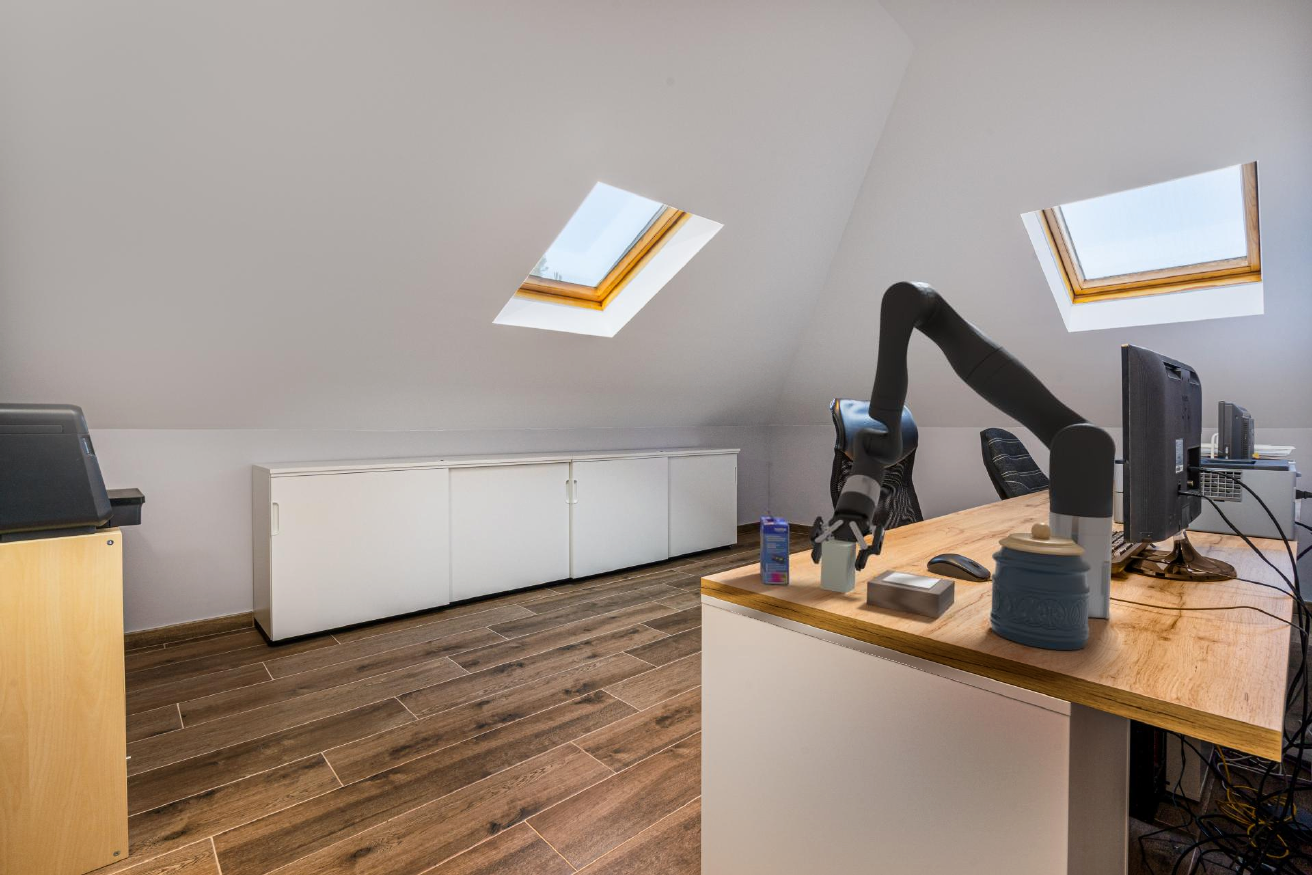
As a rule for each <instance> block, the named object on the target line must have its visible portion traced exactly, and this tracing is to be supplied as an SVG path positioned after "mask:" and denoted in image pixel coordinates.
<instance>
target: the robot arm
mask: <svg viewBox="0 0 1312 875" xmlns="http://www.w3.org/2000/svg"><path fill="white" fill-rule="evenodd" d="M880 302H881V304H880V312H879V313H880V314H879V337H878V352H877V353H878V354H877V362H876V369H875V377H874V381H873V386H872V391H871V396H870V400H869V405H868V412H867V413H868V416H869V417H870V419H872V420H874V421H876V422H877V423H880V424H882V425H883V426H885V427H886V429H887V431H885V430H879V429H876V428H871V427H862V428H861V429H859V430H858V431H857V432H856V433H855V434H854V437H853V443H852V445H853V446H852V448H853V449H852V450H853V461H852V466H851V469H850V472H849V475H848V477H847V480H846V482H845V484H844V485H843V487H842V489H841V493H840V496H839V498H838V501H837V504H836V506H835V509H834V510H833V511H834V512H833V515H832V517H831V518H830V519H829V520H827V519H823V517H822V516H817V517H815V519H814V523H813V524H812V526H811V528H810V531H809V533H808V534H807V539H808V541H809V544H810V546H812V547H813V548H812V550H811V553H810V557H811V560H812V562H813V563H814V564H815V565H819V564H820V561H821V558H822V543H823V542H826V541H829V540H839V541H846V542H853V543H856V544H857V545H858V547H859V548H860V549H859V550H858V553H857V554H856V562H855V572H856V571H857V572H861V571H862V570H864V569H865V568H866V566H867V562H868V560H869V557H870V556H871V555H875V556H880V555H881V552H882V549H883V544H884V540H885V534H886V531H885V529H884V526H883V523H877V524H876V525H871V524H872V521H873V518H874V515H875V512H876V509H877V507H878V505H879V500H880V493H881V490H882V486H883V484H884V481H885V477H886V474H887V473H886V468H885V466H884V465H883V464H886V465H894V464H896V463H897V462H898V461H899V460H900V459H901V457H902V454H903V450H904V449H903V447H904V446H903V445H904V444H903V434H902V418H903V417H902V416H903V413H904V412H903V411H904V408H905V402H906V399H907V394H908V389H909V388H908V386H909V370H908V349H909V343H910V340H911V335H912V334H913V330H914V329H915V330H918V331H919V332H920V333H922V334H923V335H924V336H925V337H927V338H928V339H929V340H931V341H932V342H933V343H934V344H936V346H937V347H939V349H940V350H941V351H942V353H943V355H944V356H945V358H946V359H947V362H948V363H949V365H950V366H951V368H952V370H953V371H954V373H955V374H956V375H957V377H959V379H960V380H962V381H963V382H964V384H966V385H967V386H968V387H969V388H970V389H972V390H973V391H974V392H975V393H976V394H977V395H979V396H980V397H981V398H982V399H984V400H985V401H986V402H988V403H989V404H990V405H991V406H993V407H995V408H996V409H997V410H999V411H1000V412H1002V413H1004V414H1005V415H1007V416H1008V417H1010V418H1011V419H1014V420H1015V421H1016V422H1019V423H1020V424H1021V425H1022V426H1024V427H1025V428H1027V429H1028V430H1029V431H1030V433H1032V434H1033V435H1034V436H1035V437H1036V438H1037V439H1038V440H1039V441H1040V442H1041V443H1042V444H1043V445H1044V446H1045V447H1046V448H1047V449H1048V451H1049V459H1048V460H1049V463H1048V465H1049V466H1048V498H1049V511H1048V514H1049V515H1048V519H1049V520H1048V526H1049V527H1050V529H1051V535H1052V536H1058V537H1064V538H1068V539H1071V540H1073V541H1074V542H1075V543H1076V544H1077V545H1079V546H1080V547H1082V548H1084V549H1085V553H1084V554H1081V556H1082V558H1083V560H1084V561H1086V562H1087V563H1089V564H1090V565H1091V567H1092V569H1091V570H1090V571H1089V572H1088V573H1087V585H1088V586H1089V587H1090V588H1091V592H1090V593H1089V613H1088V618H1101V619H1110V606H1111V605H1110V602H1111V579H1112V578H1111V576H1112V574H1111V573H1112V544H1113V543H1112V542H1113V540H1112V539H1113V520H1114V519H1113V515H1114V499H1115V498H1114V497H1115V496H1114V486H1115V482H1114V481H1115V463H1116V462H1115V458H1116V451H1117V449H1116V443H1115V441H1114V438H1113V437H1112V436H1111V434H1110V433H1109V432H1107V430H1105V429H1104V428H1102V427H1100V426H1098V425H1096V424H1094V423H1093V422H1091V421H1089V420H1088V419H1086V418H1085V417H1084V416H1082V415H1081V414H1079V413H1078V412H1076V411H1074V410H1073V409H1072V408H1070V407H1069V406H1067V405H1066V404H1065V403H1064V402H1062V401H1061V400H1059V398H1058V397H1056V396H1055V394H1053V393H1052V392H1051V391H1050V389H1049V388H1047V386H1045V385H1044V383H1043V382H1042V381H1041V380H1040V379H1039V378H1038V377H1037V376H1036V375H1035V374H1034V373H1033V371H1031V370H1030V369H1028V367H1027V366H1026V365H1025V364H1024V363H1022V362H1021V361H1020V360H1019V359H1018V358H1017V357H1015V355H1013V354H1012V353H1010V352H1009V351H1008V350H1007V349H1005V348H1004V347H1003V345H1000V343H999V342H997V341H996V340H993V338H991V337H990V336H989V335H987V334H986V332H984V331H982V330H981V329H979V328H978V327H977V326H975V325H974V324H972V323H971V322H969V321H968V320H966V319H965V318H964V317H963V316H962V315H961V314H960V313H959V312H958V311H957V310H956V309H955V308H954V307H953V306H952V305H951V304H950V303H949V302H948V301H947V299H945V298H944V297H943V295H942V294H941V293H940V292H938V290H936V289H935V288H934V287H933V286H931V284H929V283H926V282H924V281H916V280H915V281H914V280H913V281H912V280H908V281H906V280H905V281H898V282H895V283H893V284H891V285H890V286H889V287H888V288H887V289H886V290H885V292H884V294H883V296H882V298H881V301H880ZM826 528H827V529H826ZM870 533H872V536H873V538H872V541H871V544H869V545H868V544H867V542H866V540H865V537H867V536H868V535H870ZM831 535H832V536H831Z"/></svg>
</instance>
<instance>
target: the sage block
mask: <svg viewBox="0 0 1312 875" xmlns="http://www.w3.org/2000/svg"><path fill="white" fill-rule="evenodd" d="M856 558H857V542H856V543H853V542H846V541H839V540H829V541H826V542H823V543H822V556H821V558H820V561H821V562H820V563H821V564H820V589H822V590H827V591H831V592H832V591H833V592H837V593H843V594H847V593H849V592H850V591H852V590H854V589H855V588H856V568H855V562H856Z"/></svg>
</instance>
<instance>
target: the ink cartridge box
mask: <svg viewBox="0 0 1312 875" xmlns="http://www.w3.org/2000/svg"><path fill="white" fill-rule="evenodd" d="M765 509H766V511H767V513H768V515H769V516H760V518H759V521H760V528H759V529H760V531H759V536H760V537H759V538H760V539H759V540H760V541H759V542H760V543H759V550H760V551H759V560H760V561H759V569H760V570H759V571H760V577H761V581H762V584H764V585H767V584H768V585H769V584H770V585H783V586H788V585H790V524H789V522H787V520H786V519H785V518H784V517H777V516H775V517H774V516H773V515H772V514H771V512H770V510H769V509H768V507H767V508H765Z"/></svg>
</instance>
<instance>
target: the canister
mask: <svg viewBox="0 0 1312 875" xmlns="http://www.w3.org/2000/svg"><path fill="white" fill-rule="evenodd" d="M1030 531H1031V533H1028V532H1013V533H1010V534H1009V535H1008V536H1006V537H1003V538H1000V539H999V540H998V544H999V545H1000V546H1001V547H1000V549H999V550H998V551H995V552H993V553H992V555H991V557H992V559H993V560H994V562H995V568H994V572H993V573H992V574H991V576H990V577H991V578H990V579H991V580H992V581H991V582H992V586H991V587H992V591H991V610H990V612H989V616H990V617H989V621H990V623H991V624H990V626H991V630H992V631H993V632H994V633H996V634H997V635H998V636H1001V637H1002V638H1005V639H1007V640H1010V641H1013V642H1014V643H1015V642H1016V643H1019V644H1023V645H1026V646H1030V647H1035V648H1042V649H1047V650H1056V651H1074V650H1080V649H1084V648H1085V647H1087V644H1088V640H1089V639H1090V638H1089V637H1090V628H1089V617H1088V613H1089V593H1090V592H1091V588H1090V587H1089V586H1088V585H1087V573H1088V572H1089V571H1090V570H1091V569H1092V567H1091V565H1090V564H1089V563H1087V562H1086V561H1084V560H1083V558H1082V556H1081V554H1084V553H1085V549H1084V548H1082V547H1080V546H1079V545H1077V544H1076V543H1075V542H1074V541H1073V540H1071V539H1068V538H1064V537H1058V536H1052V535H1051V529H1050V527H1049V524H1047V523H1044V522H1036V523H1034V524H1033V525H1032V527H1031V529H1030Z"/></svg>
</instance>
